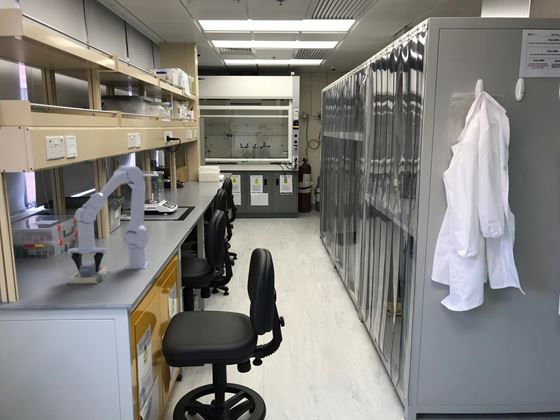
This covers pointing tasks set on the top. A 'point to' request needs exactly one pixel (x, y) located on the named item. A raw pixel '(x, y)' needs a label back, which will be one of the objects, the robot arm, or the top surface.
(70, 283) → the frame
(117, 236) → the top surface
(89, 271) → the block
